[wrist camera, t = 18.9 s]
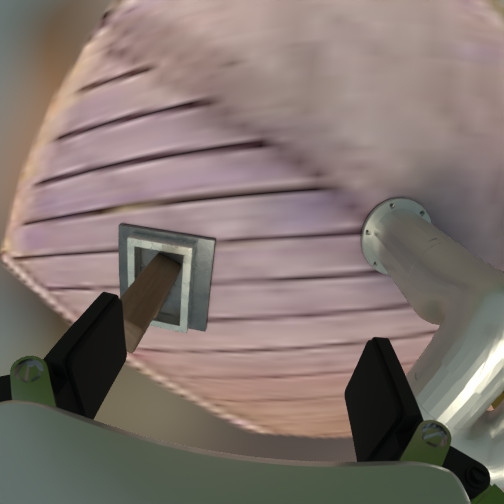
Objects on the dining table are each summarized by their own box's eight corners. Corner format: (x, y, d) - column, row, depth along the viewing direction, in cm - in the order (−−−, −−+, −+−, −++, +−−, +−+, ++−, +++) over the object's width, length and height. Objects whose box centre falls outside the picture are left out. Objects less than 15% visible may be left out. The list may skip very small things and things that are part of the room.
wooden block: (162, 306, 52) (123, 376, 36) (140, 293, 52) (93, 359, 35) (182, 265, 49) (142, 331, 33) (158, 251, 49) (107, 311, 32)
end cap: (215, 238, 48) (211, 246, 45) (206, 328, 55) (202, 340, 51) (121, 223, 48) (111, 230, 45) (123, 310, 55) (116, 320, 51)
